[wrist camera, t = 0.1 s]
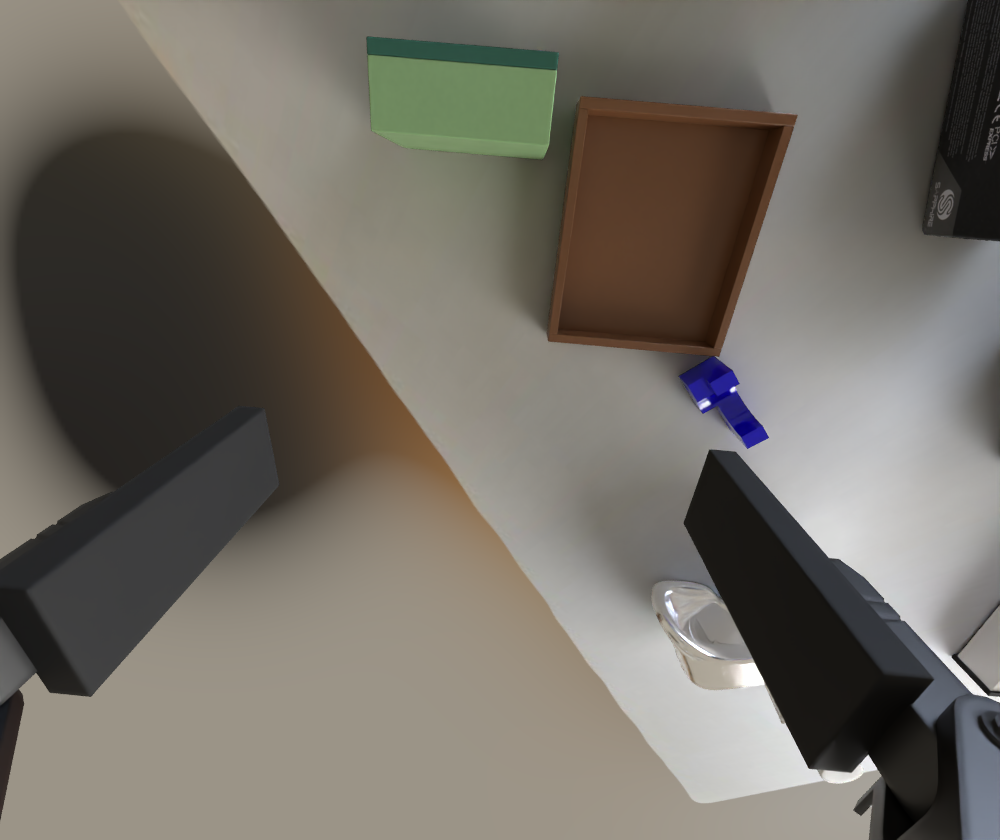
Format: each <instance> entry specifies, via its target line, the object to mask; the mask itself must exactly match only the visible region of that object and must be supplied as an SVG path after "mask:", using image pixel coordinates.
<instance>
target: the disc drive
mask: <svg viewBox="0 0 1000 840" xmlns="http://www.w3.org/2000/svg"><path fill="white" fill-rule="evenodd" d="M952 658H953V659H954V660H955V662H956V663H957V664H958V665H959V666H960V667H961V668H962V669H963V670H964V671H965V672H966V673H967V674H968V675H969V676H970V677H971V678H972V679H973V680H974V681H975V682H976V684H977V685H978V686H979V687H980V688H981V689H982V690H983V691H984V692H985V693H986V694H987V695H988V696H999V697H1000V605H999V606H998V608H997V609H996V610H995V611H994V612H993V614H992V615H991V616H990V617H989V619H988V620H987V621H986V622H985V623H984V625H983V626H982V627H981V628H980V629H979V631H978V632H977V633H976V634H975V635H974V637H973V638H972V639H971V640H970V641H969V643H968V644H967V645H966V646H965V648H964V649H963V650H962V651H961V652H960V654H959V655H957V654H954V655H953V656H952Z"/></svg>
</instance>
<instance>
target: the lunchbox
mask: <svg viewBox="0 0 1000 840" xmlns="http://www.w3.org/2000/svg"><path fill="white" fill-rule="evenodd" d="M366 40H367V54H368V56H367V59H368V78H369V98H370V117H371V131H373V132H375V133H377V134H379V135H381V136H382V137H384V138H386V139H388V140H390V141H392V142H394V143H396V144H398V145H400V146H402V147H404V148H410V149H422V150H434V151H446V152H457V153H469V154H481V155H493V156H504V157H516V158H528V159H539V160H543V159H544V156H545V154H546V151H547V148H548V146H549V139H550V130H551V121H552V112H553V103H554V93H555V84H556V75H557V66H558V57H559V53H558V52H550V51H537V50H525V49H513V48H501V47H489V46H477V45H465V44H452V43H440V42H428V41H416V40H404V39H392V38H380V37H367V38H366Z"/></svg>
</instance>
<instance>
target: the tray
mask: <svg viewBox="0 0 1000 840" xmlns="http://www.w3.org/2000/svg"><path fill="white" fill-rule="evenodd" d="M797 116H798V115H797V114H788V113H776V112H764V111H752V110H740V109H728V108H716V107H704V106H692V105H680V104H668V103H656V102H644V101H632V100H620V99H608V98H597V97H585V96H581V97H580V99H579V101H578V103H577V105H576V111H575V119H574V127H573V134H572V142H571V150H570V158H569V165H568V173H567V181H566V189H565V196H564V204H563V212H562V219H561V227H560V235H559V243H558V250H557V258H556V266H555V274H554V281H553V289H552V297H551V304H550V312H549V320H548V328H547V338H548V341H550V342H561V343H572V344H583V345H595V346H606V347H617V348H628V349H639V350H650V351H661V352H672V353H684V354H695V355H706V356H717V357H719V356H720V353H721V349H722V346H723V343H724V340H725V337H726V334H727V331H728V328H729V325H730V322H731V319H732V316H733V313H734V310H735V306H736V303H737V300H738V297H739V294H740V291H741V288H742V285H743V282H744V279H745V276H746V273H747V270H748V267H749V264H750V260H751V257H752V254H753V251H754V248H755V245H756V242H757V239H758V236H759V233H760V230H761V227H762V224H763V221H764V217H765V214H766V211H767V208H768V205H769V202H770V199H771V196H772V193H773V190H774V187H775V184H776V181H777V178H778V174H779V171H780V168H781V165H782V162H783V159H784V156H785V153H786V150H787V147H788V144H789V141H790V138H791V135H792V131H793V128H794V127H793V126H794V125H795V122H796V119H797Z"/></svg>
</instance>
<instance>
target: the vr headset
mask: <svg viewBox="0 0 1000 840" xmlns="http://www.w3.org/2000/svg"><path fill="white" fill-rule="evenodd" d="M651 599H652V605H653V608H654V611H655V614H656V616H657V618H658V620H659V622H660V624H661V626H662V628H663V629H664V631H665V632H666V633H667V635H668V636H669V638H670V640H671V642H672V643H673V645H674V648H675V652H676V655H677V657H678V659H679V661H680V664H681V667H682V669H683V670H684V672H685V674H686V675H687V677H688V678H689V679H690V680H691V681H692V682H693V683H694V684H695V685H697V686H699V687H701V688H703V689H708V690H723V689H733V688H740V687H747V686H754V685H760V684H765V682H764V680H763V678H762V676H761V674H760V672H759V670H758V668H757V666H756V664H755V662H754V660H753V658H752V656H751V654H750V652H749V650H748V648H747V646H746V644H745V642H744V640H743V639H742V637H741V635H740V633H739V631H738V629H737V627H736V625H735V623H734V621H733V619H732V617H731V615H730V613H729V611H728V609H727V607H726V605H725V603H724V601H723V599H722V598H720V597H718V596H717V595H716V594H715V593H714V592H713V591H712V590H711V589H710V588H709V587H707V586H704V585H701V584H698V583H694V582H687V581H660V582H658V583H656V584H655V585H654V586H653V588H652V592H651ZM765 686H766V684H765ZM766 689H767V691H768V693H769V695H770V698H771V700H772V702H773V704H774V707H775V709H776V711H777V713H778V716H779V718H780V721H781V723H782V724H784V723H785V721H784V719H783V717H782V715H781V713H780V711H779V709H778V707H777V705H776V703H775V701H774V699H773V697H772V695H771V693H770V691H769V689H768V688H767V686H766Z"/></svg>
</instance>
